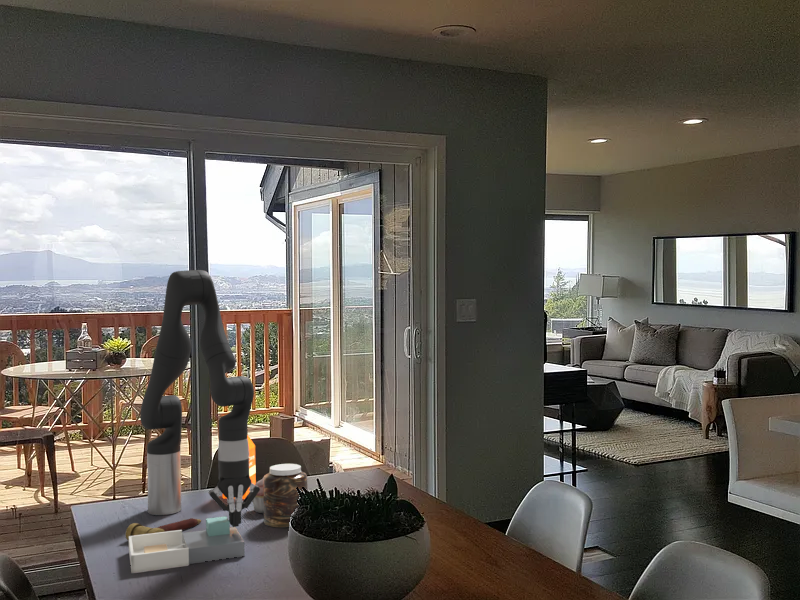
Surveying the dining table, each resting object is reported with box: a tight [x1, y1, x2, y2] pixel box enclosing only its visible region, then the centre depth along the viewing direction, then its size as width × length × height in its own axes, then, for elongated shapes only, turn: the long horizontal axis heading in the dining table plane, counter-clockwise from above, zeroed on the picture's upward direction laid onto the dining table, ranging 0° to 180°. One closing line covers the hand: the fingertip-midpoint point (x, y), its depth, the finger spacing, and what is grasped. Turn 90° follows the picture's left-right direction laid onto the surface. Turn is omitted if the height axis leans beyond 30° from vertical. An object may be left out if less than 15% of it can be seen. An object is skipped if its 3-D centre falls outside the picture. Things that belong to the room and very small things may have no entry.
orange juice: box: [222, 435, 257, 500], centre depth 238 cm, size 8×9×20 cm
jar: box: [263, 463, 309, 528], centre depth 210 cm, size 12×12×15 cm
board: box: [182, 526, 246, 565], centre depth 186 cm, size 13×13×4 cm
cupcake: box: [251, 476, 264, 514], centre depth 221 cm, size 9×9×10 cm
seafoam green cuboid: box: [205, 516, 231, 536], centre depth 190 cm, size 5×5×3 cm
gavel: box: [125, 517, 202, 542], centre depth 201 cm, size 21×5×10 cm
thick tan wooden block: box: [144, 544, 168, 553], centre depth 178 cm, size 5×5×3 cm
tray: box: [128, 530, 190, 574], centre depth 182 cm, size 15×12×4 cm
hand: (235, 525), depth 192 cm, fingers closed
